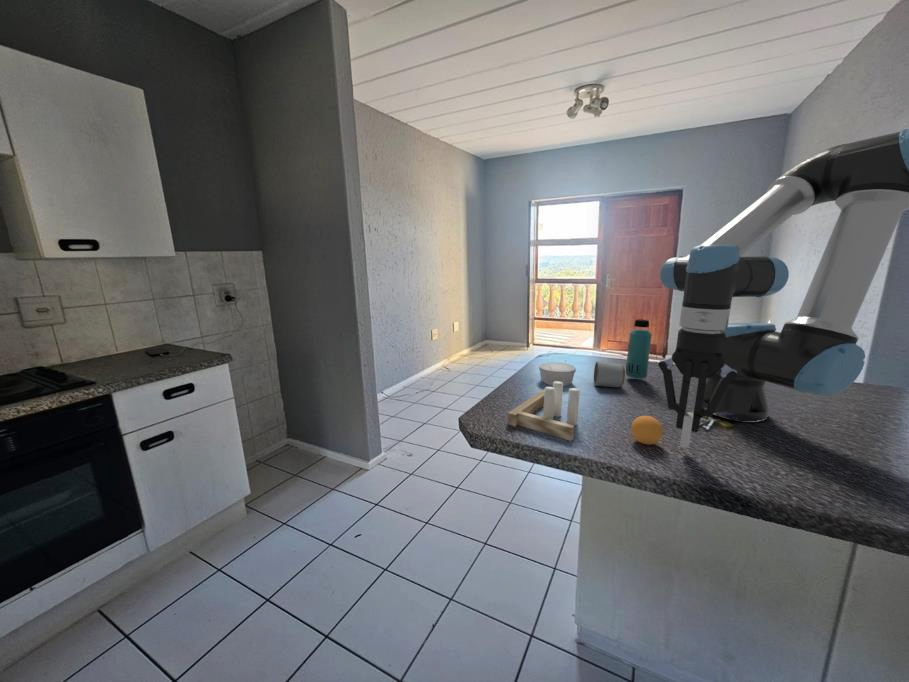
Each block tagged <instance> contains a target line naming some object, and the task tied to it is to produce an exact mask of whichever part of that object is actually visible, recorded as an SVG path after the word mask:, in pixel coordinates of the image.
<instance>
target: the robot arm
mask: <svg viewBox="0 0 909 682" xmlns="http://www.w3.org/2000/svg"><path fill="white" fill-rule="evenodd" d="M827 202H828V203H829V202H835V203H834V204H835V205H836V206H837V207H838V208H839V209H840V213H839V215H838V217H837V219H836V222H835V225H834V227H833V229H832V231H831V234H830V235H829V236H830V237H829V239H828V241H827V244H826V246H825V249H824V251H823V253H822V256H821V258H820V261H819V262H818V263H819V264H818V266H817V267H816V270H815V272H814V275H813V278H812V280H811V283H810V285H809V288H808V289H807V291H806V294H805V297H804V299H803V301H802V304H801V306H800V308H799V310H798V313H797V316H796V317H794V319H791V320H788V321H786V322H784V323H783V325H782V326H783V327H782V328H781V331H780V332H779V331H777V328H776V324H774V323H768V322H730V323H729V321H730V314H731V306H732V301H733V298H745V297H746V298H747V297H748V298H750V297H755V298H762V297H766V296H771V295H775V294H777V293H778V292H780V291H781V290H782V289H783V288H784V287H785V286H786V285H787V283H788V280H789V275H790V271H789V268H788V266H787V264H786V263H785V262H784V261H783V260H781V258H777V257H773V256H768V255H765V256H764V255H763V256H760V255H758V256H743V255H745V254H746V253H748V252H749V250H751V249H753V247H755V246H756V245H757V244H759V243H760V242H761V241H762V240H764V239H765V238H766V237H768V236H769V235H770V234H771V233H773V231H775V230H776V229H778V228H779V227H780V226H781V225H782V224H784V223H785V222H786V221H787V220H788V219H790V218H791V217H792V216H793V215H794V216H795V215H798V214H802V213H804V212H806V211H807V210H809V208H810V209H811V207H813V206H816V205H820V204H823V203H827ZM908 210H909V128H904V129H902V130H901V131H897V132H892V133H887V134H884V135H880V136H875V137H871V138H866V139H861V140H856V141H853V142H848V143H842V144H838V145H835V146H832V147H829V148H827V149H823V150H822V151H820V152H818V153H815V154H814V155H812V156H810V157H808V158H807V159H804V160H803V161H801V162H800V163H798V164H796V165H795V166H793V167H792V168H789V170H787V171H786V172H785V173H783V174H781V176H779V177H778V178H776V179H775V180H774V181H773V182H771V183H770V184H769V186H768V187H767V190H766V192H765V194H763V195H762V196H761V197H759V198H758V199H757V200H755V201H754V202H753V203H752V204H750V205H749V206H748V207H747V208H745V209H744V210H743V211H741V212H740V213H738V215H737V216H735V217H734V218H732V220H730V221H729V222H728V223H727V224H725V225H724V226H723V227H721V228H720V229H719V230H717V231H716V232H715V233H714V234H713V235H711V236H710V237H709V238H707V240H705V241H704V242H702V244H700V245H695V246H694V247H692V248H691V250H690V252H689V253H688V254H687V255H685V256H682V255H681V256H680V255H678V256H676V257H671V258H668V259H667V260H666V261H665V262H664V263H663V265H662V266H661V269H660V274H659V277H660V281H661V283H662V285H663V286H664V287H665V288H667V289H669V290H672V291H673V290H674V291H679V292H683V298H682V305H681V309H680V315H679V318H680V319H679V326H680V327H681V328H680V329H679V330H678V332H677V338H676V340H677V341H676V347H675V350H674V352H673V353H672V355H671V357H668V358H666V359H665V358H662V359H660V361H659V362H658V367H659V368H660V370H661V373H662V375H663V381H664V387H665V395H666V400H667V401H666V402H667V407H668V409H669V410H673V411H674V412H676V413H677V415H676V416H677V418H676V423H675V427H676V429H679V430H681V435H680V441H679V447H683V448H686V449H690V448H689V447H690V442H691V436H692V432H693V433H698V432H699V429H700V424H701V419H702V418H703V417H707V418H711V417H713V413H716V412H727V413H732V414H735V415H737V420H739V421H757V420H762V419H765V418H767V417H769V413H770V407H769V403H768V398H767V395H766V390H765V384H766V382H767V383H771V384H775V385H777V386H781V387H783V388H788V389H791V390H795V391H796V392H799V393H802V394H810V395H814V396H816V397H817V396H818V397H831V396H833V397H834V396H836V395H839V394H841V393H842V392H843V391H845V390H847V389H848V388H849V387H851V386H852V385H853V383H855V381H856V380H857V378H858V377H859V376H860V375H861V372H862V370H863V369H864V366H865V359H866V353H865V351H864V349H863V348H862V347H861V346H859V345H858V344H857V342H858V340H859V336H858V335H857V334H856V333H855V331H854V330H853V325H854V323H855V321H856V319H857V316H858V314H859V311H860V309H861V307H862V305H863V303H864V301H865V298H866V296H867V293H868V291H869V289H870V286H871V285H872V282H873V280H874V278H875V275H876V273H877V271H878V269H879V266H880V264H881V261H882V260H883V258H884V255H885V253H886V250H887V248H888V246H889V243H890V241H891V239H892V237H893V234H894V232H895V230H896V228H897V226H898V223H899V220H900V218H901V217H902V214H903V213H904V212H906V211H908ZM674 365H675V367H677V369H678V371H679V372H680V374H682V380H681V387H680V388H681V389H680V394H679V396H680V397H679V402H677V399H676V393H675V385H674V380H673V373H672V370H673V368H674ZM691 378H696V379H698V382H697V389H696V395H695V402H694V408H693V409H694V410H693V412H690V411H687V405H688V399H689V398H688V397H689V391H690V384H691V381H692V380H691Z"/></svg>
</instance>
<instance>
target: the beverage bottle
mask: <svg viewBox="0 0 909 682" xmlns="http://www.w3.org/2000/svg"><path fill="white" fill-rule="evenodd" d="M633 324H634V325H633V326H634V327H637V328H641V329H632V331H630V332H629V340H628V348H627V355H626V363H625V376H627V377H629V378H631V379H639V380H640V379H641V380H643V379H646V378H647V376H648V372H649V371H648V370H649V362H650V360H649V359H650V357H649V356H650V351H651V350H650V349H651V342H652V341H651V340H652V333H651V332H650V331H649V330H648V329H642V328H649V327H650V321H649V319H644V318H643V319H641V318H640V319H639V318H637V319H635V320H634V323H633Z"/></svg>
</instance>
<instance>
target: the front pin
mask: <svg viewBox="0 0 909 682" xmlns="http://www.w3.org/2000/svg"><path fill="white" fill-rule="evenodd" d="M580 393H581V391H580V389H579V388H575V387H573V388H572V387H570V388H569V389H568V398H567V399H568V401H567V413H566V414H567V415H566V424H570V425H574V426H577V425H578V418H579V417H578V416H579V404H580Z"/></svg>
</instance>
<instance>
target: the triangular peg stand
mask: <svg viewBox="0 0 909 682" xmlns="http://www.w3.org/2000/svg"><path fill="white" fill-rule="evenodd" d="M544 393H545V389H542V390H540V391H538V392H537V393H535V395H532V396H531V397H530V398H528V399H527V400H525V401H524V402H522V403H521V404H519V405H517V406H516V407H514V408H513V409H511V410H510V411H508V413H507V426H511V427H514V428H516V427H517V426H520V427H523V428H526V429H529V428H530V429H529V430H533V431H536V432H540V433H543V434H547V435H549V436H553V437H556V438H560V439H563V440H566V441H570V442H572V440H573V439H574V435H575V425H570V424H567V422H562V421H558V420H555V419H553V420H551V419H548V418H544V417H543V416H540V415H536V414H535V413H536V412H537V411H539V408H540V409H541V408H543V407H544V406H543V405H544ZM536 410H537V411H536ZM535 411H536V412H535Z"/></svg>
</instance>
